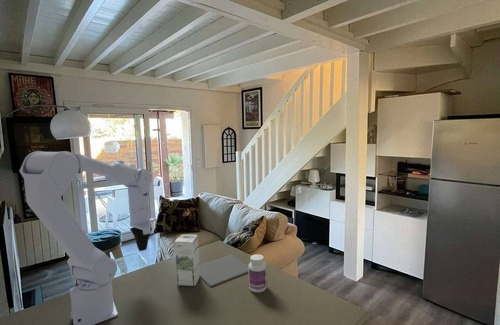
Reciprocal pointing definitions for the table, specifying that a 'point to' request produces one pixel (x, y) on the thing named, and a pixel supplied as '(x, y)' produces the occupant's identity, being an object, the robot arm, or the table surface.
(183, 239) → the syrup box
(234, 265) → the rubber mat
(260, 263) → the pill bottle
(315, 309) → the table surface
